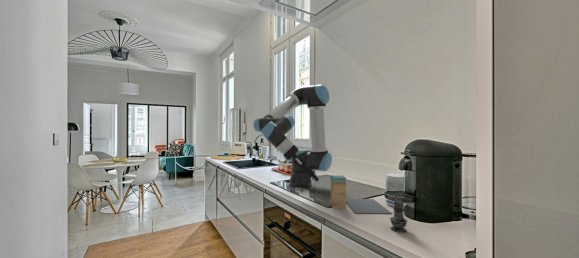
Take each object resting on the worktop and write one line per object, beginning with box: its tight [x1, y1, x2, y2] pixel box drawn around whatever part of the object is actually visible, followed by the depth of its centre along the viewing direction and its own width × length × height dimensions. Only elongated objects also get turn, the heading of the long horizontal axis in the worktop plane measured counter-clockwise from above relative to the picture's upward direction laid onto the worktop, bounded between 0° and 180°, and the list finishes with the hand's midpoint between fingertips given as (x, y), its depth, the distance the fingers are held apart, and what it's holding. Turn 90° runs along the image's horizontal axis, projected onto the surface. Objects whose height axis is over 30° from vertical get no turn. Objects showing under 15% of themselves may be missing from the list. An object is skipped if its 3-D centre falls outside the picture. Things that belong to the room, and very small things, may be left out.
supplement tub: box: [385, 173, 405, 208], centre depth 118 cm, size 10×10×15 cm
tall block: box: [330, 174, 347, 209], centre depth 116 cm, size 6×6×14 cm
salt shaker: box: [389, 197, 409, 234], centre depth 88 cm, size 6×6×12 cm
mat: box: [346, 198, 393, 215], centre depth 116 cm, size 22×16×1 cm
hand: (322, 184), depth 116 cm, fingers closed
